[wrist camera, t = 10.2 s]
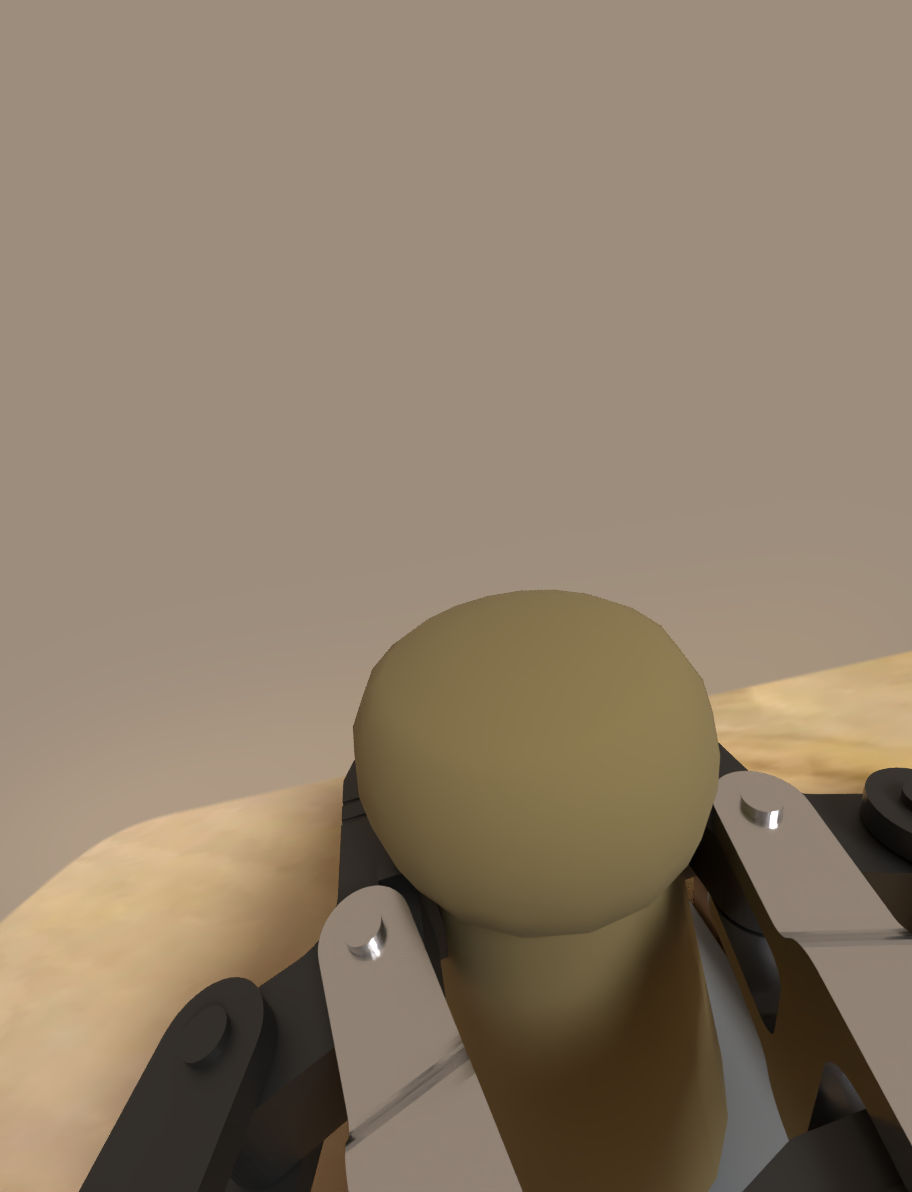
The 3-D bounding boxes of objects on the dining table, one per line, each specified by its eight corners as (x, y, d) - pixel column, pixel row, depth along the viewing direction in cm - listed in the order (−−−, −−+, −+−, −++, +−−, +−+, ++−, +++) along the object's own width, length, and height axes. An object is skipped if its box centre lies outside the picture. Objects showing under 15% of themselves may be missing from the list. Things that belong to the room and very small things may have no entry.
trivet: (425, 1532, 7) (418, 1531, 7) (391, 926, 15) (387, 917, 15) (940, 1302, 8) (948, 1295, 8) (646, 843, 16) (646, 834, 16)
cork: (720, 1374, 7) (786, 951, 3) (402, 1123, 10) (187, 734, 6) (733, 961, 12) (764, 549, 7) (511, 875, 15) (437, 551, 10)
